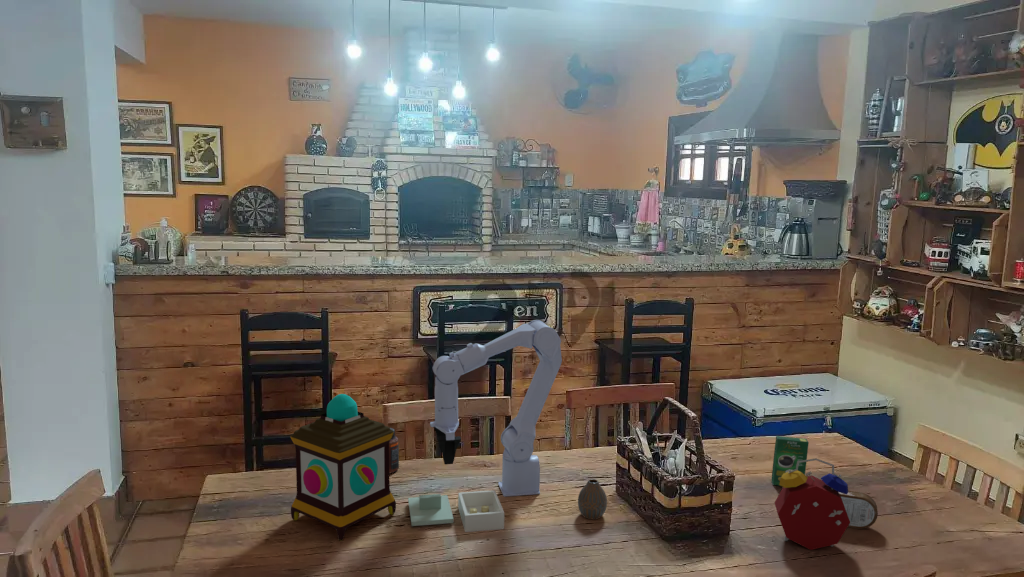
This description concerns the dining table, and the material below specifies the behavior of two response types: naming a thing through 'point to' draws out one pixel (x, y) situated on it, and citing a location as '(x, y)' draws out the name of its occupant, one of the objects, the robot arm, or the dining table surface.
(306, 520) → the dining table surface
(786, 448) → the coffee box
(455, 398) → the robot arm
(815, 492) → the alarm clock
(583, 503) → the vase
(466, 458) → the dining table surface
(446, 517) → the lid
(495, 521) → the tub
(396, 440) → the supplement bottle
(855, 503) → the tin
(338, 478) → the decorative lantern
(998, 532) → the dining table surface
